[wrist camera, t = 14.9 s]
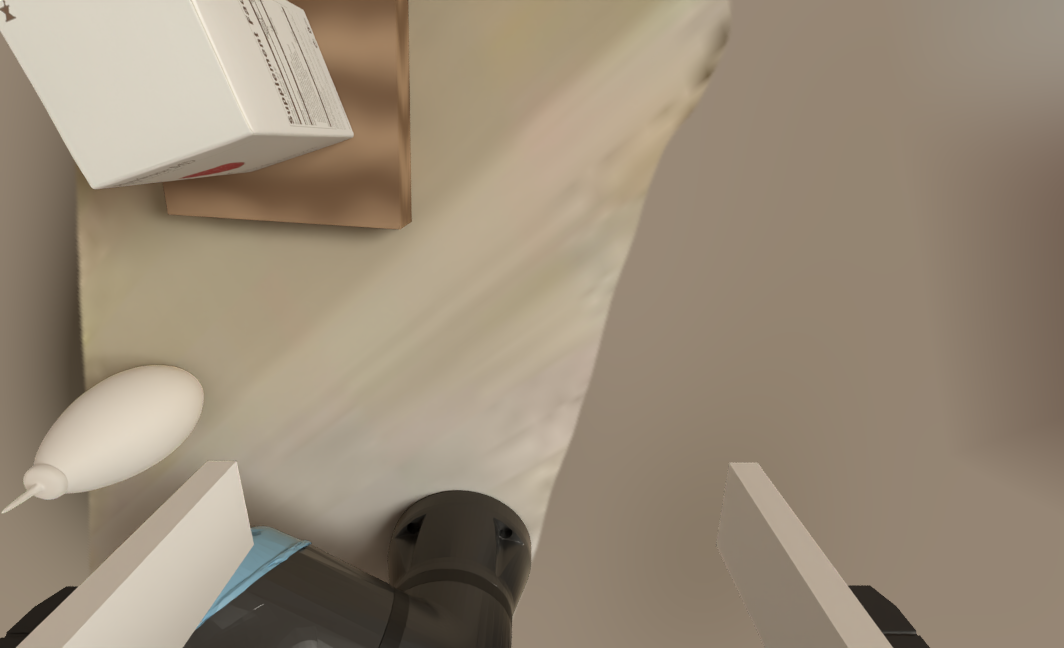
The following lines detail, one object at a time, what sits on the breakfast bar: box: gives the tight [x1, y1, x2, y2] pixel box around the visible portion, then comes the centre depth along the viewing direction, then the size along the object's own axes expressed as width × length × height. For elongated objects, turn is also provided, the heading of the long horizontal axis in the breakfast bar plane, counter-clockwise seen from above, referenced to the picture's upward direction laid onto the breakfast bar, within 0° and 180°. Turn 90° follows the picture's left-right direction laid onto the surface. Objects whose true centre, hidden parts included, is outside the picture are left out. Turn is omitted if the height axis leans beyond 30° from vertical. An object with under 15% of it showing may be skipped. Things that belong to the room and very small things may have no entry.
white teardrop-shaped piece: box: [2, 365, 204, 513], centre depth 41 cm, size 8×8×18 cm
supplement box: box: [0, 0, 354, 189], centre depth 30 cm, size 9×9×15 cm
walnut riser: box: [162, 0, 412, 229], centre depth 39 cm, size 18×18×4 cm
